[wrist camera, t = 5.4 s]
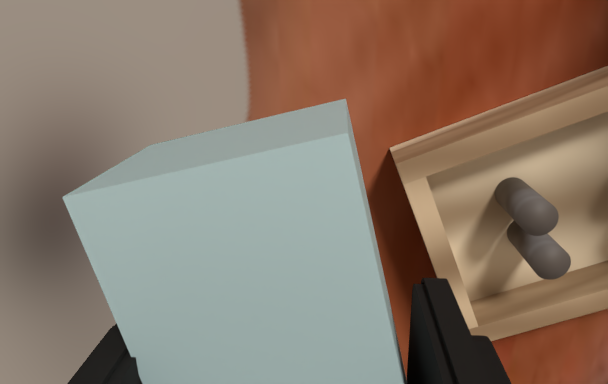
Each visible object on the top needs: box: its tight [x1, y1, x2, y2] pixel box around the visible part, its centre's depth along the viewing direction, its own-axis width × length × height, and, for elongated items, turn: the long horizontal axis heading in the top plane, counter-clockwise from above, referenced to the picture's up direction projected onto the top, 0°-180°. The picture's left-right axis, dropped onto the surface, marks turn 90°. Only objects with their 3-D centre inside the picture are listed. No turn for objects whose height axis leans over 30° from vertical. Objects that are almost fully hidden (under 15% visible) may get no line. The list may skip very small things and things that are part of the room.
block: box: [63, 99, 407, 384], centre depth 10 cm, size 10×4×4 cm, turn 14°
